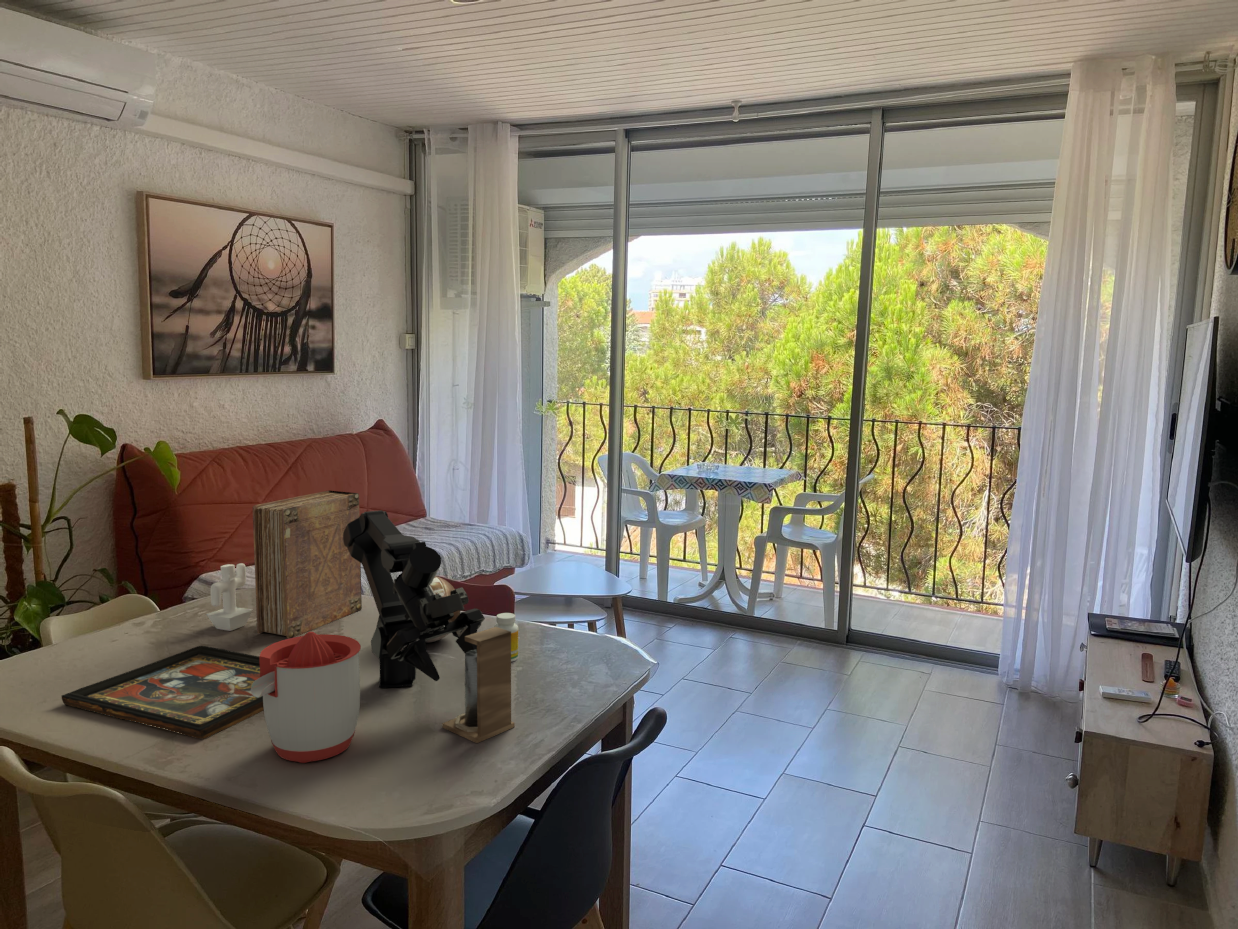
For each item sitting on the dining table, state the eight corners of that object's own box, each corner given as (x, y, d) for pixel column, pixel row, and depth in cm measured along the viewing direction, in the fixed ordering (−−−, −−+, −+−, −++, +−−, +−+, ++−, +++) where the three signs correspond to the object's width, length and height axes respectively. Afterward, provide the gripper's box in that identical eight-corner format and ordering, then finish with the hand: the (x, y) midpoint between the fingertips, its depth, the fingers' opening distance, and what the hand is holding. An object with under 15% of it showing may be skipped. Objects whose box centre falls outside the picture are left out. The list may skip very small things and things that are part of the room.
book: (287, 639, 197) (282, 509, 193) (256, 634, 201) (251, 505, 197) (362, 609, 220) (359, 492, 216) (333, 605, 224) (329, 489, 220)
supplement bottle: (492, 663, 184) (492, 619, 183) (493, 654, 189) (493, 612, 188) (518, 663, 185) (518, 619, 183) (518, 654, 190) (518, 611, 189)
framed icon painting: (340, 672, 179) (340, 659, 179) (219, 747, 146) (218, 730, 145) (187, 653, 189) (186, 640, 189) (41, 718, 156) (40, 702, 155)
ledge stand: (442, 727, 153) (441, 630, 150) (479, 712, 159) (479, 619, 157) (477, 743, 147) (476, 642, 145) (514, 727, 153) (514, 630, 151)
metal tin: (459, 724, 152) (460, 655, 150) (473, 715, 156) (474, 648, 154) (481, 729, 150) (481, 660, 149) (494, 719, 154) (495, 652, 153)
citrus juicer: (237, 750, 143) (231, 632, 141) (336, 719, 155) (333, 611, 153) (277, 784, 132) (272, 658, 130) (380, 749, 144) (378, 632, 142)
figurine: (202, 630, 202) (199, 567, 200) (234, 619, 211) (231, 558, 209) (226, 635, 200) (223, 571, 198) (257, 623, 208) (254, 562, 206)
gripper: (395, 586, 149) (436, 664, 144) (478, 566, 164) (518, 636, 158) (369, 620, 155) (408, 696, 150) (451, 598, 170) (489, 667, 164)
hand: (458, 672), depth 155 cm, fingers open, 9 cm apart
